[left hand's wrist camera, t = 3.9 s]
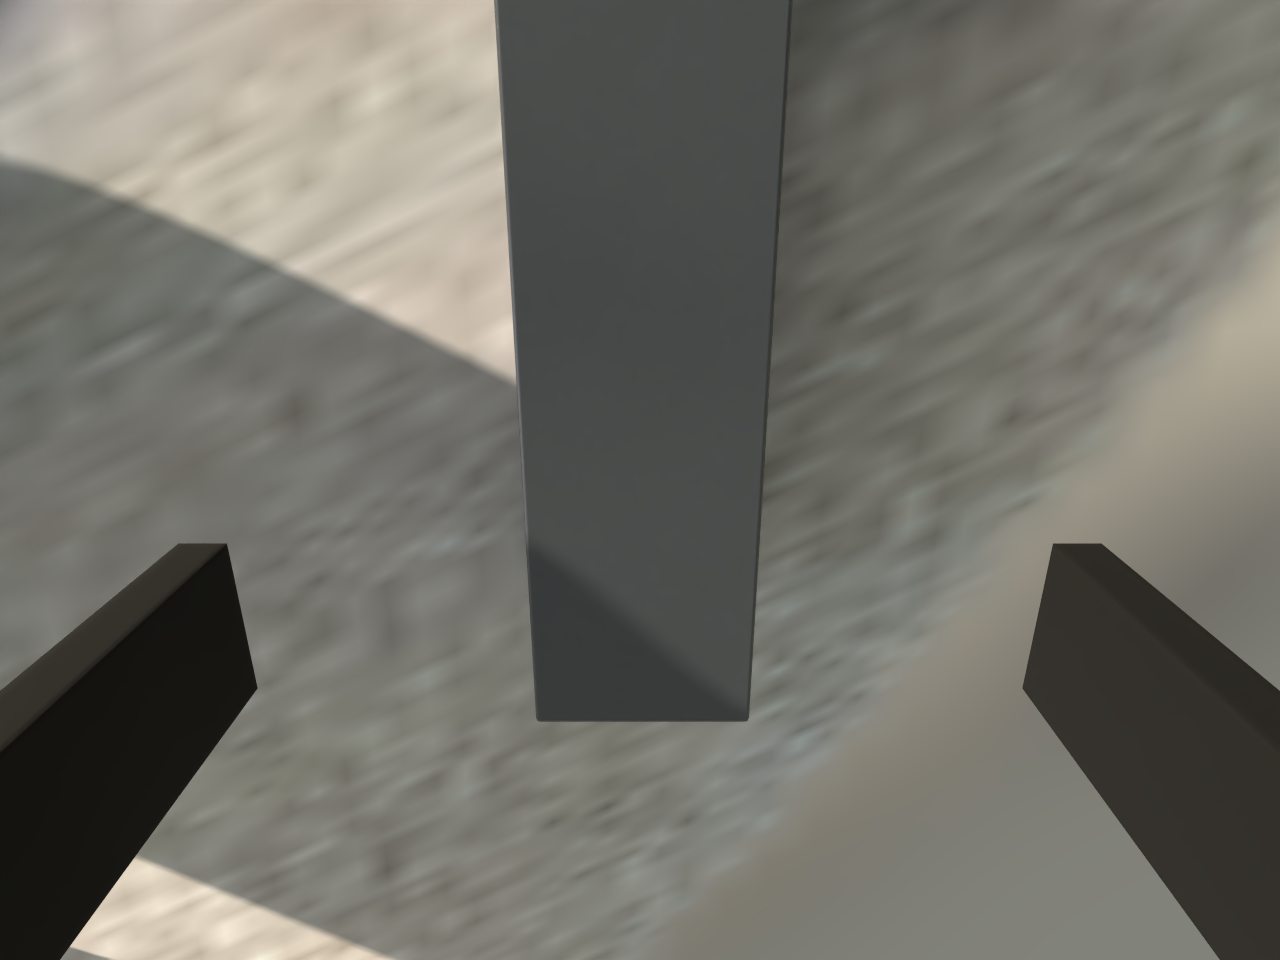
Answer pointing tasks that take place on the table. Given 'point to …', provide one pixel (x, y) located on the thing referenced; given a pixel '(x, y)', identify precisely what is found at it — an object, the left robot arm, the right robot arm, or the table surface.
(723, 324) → the bar
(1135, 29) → the table surface
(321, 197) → the table surface
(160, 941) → the table surface
